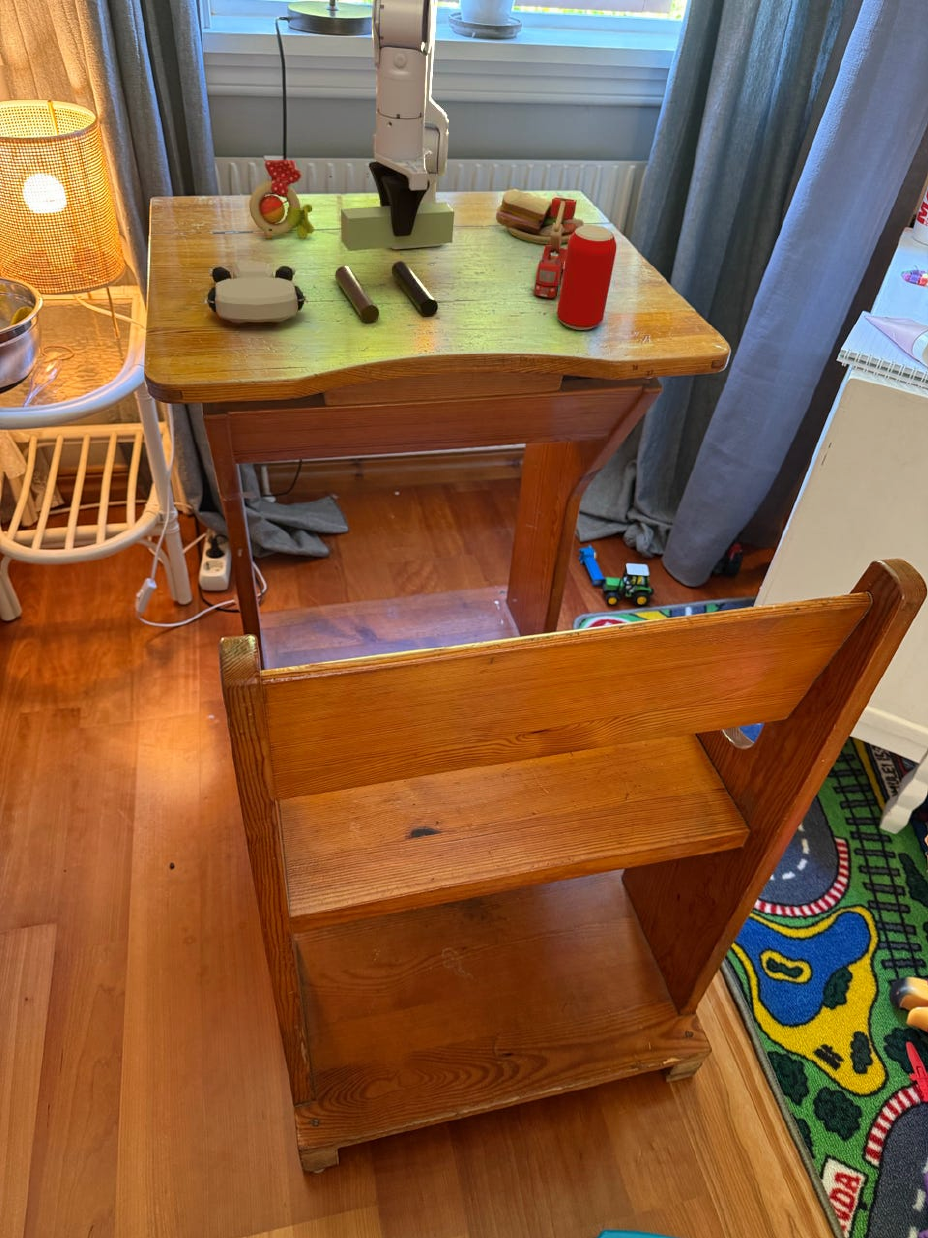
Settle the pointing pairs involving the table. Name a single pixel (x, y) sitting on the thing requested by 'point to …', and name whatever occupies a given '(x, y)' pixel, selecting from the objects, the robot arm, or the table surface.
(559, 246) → the toy fire truck
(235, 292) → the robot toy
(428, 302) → the black rod
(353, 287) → the walnut rod
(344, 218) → the bar
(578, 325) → the beverage can
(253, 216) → the bird rattle
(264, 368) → the table surface
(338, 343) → the table surface
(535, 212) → the toy sandwich meal
